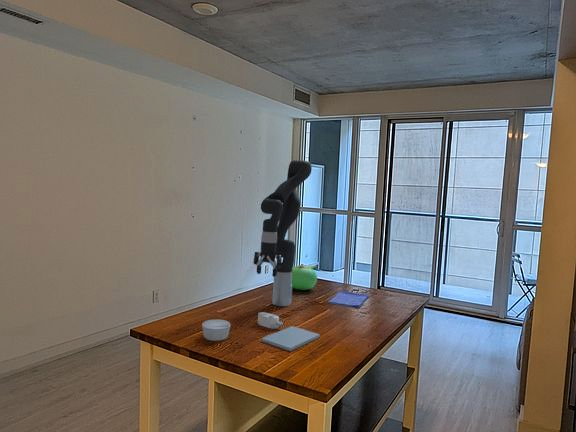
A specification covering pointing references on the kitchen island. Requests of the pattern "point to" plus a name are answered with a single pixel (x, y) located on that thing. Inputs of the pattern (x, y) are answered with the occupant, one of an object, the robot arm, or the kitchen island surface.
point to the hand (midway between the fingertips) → (266, 275)
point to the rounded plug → (269, 320)
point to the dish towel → (349, 299)
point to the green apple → (303, 277)
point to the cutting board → (290, 338)
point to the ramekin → (216, 329)
